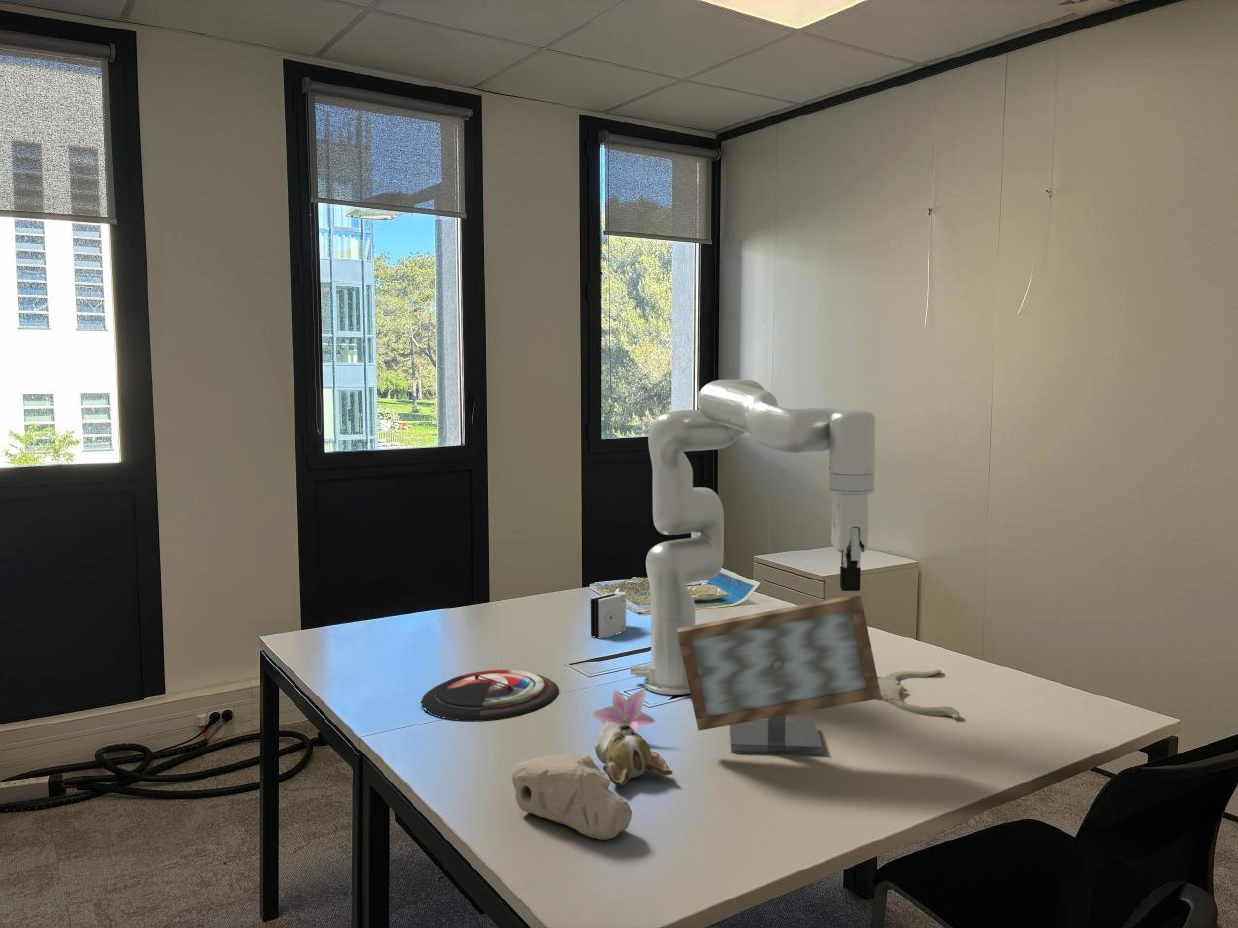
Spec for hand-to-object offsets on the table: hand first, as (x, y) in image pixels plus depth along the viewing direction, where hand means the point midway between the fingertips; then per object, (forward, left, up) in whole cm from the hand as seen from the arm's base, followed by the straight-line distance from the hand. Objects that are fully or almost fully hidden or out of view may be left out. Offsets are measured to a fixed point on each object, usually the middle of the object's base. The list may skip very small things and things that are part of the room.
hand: (850, 589), depth 160 cm
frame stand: (-12, +8, -30) cm, 33 cm away
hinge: (-50, +77, -30) cm, 97 cm away
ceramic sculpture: (-38, -9, -31) cm, 49 cm away
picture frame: (-10, 0, -22) cm, 24 cm away
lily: (-39, +6, -31) cm, 50 cm away
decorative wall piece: (+11, +36, -31) cm, 49 cm away
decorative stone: (-45, -26, -31) cm, 60 cm away
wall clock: (-70, +27, -31) cm, 81 cm away
